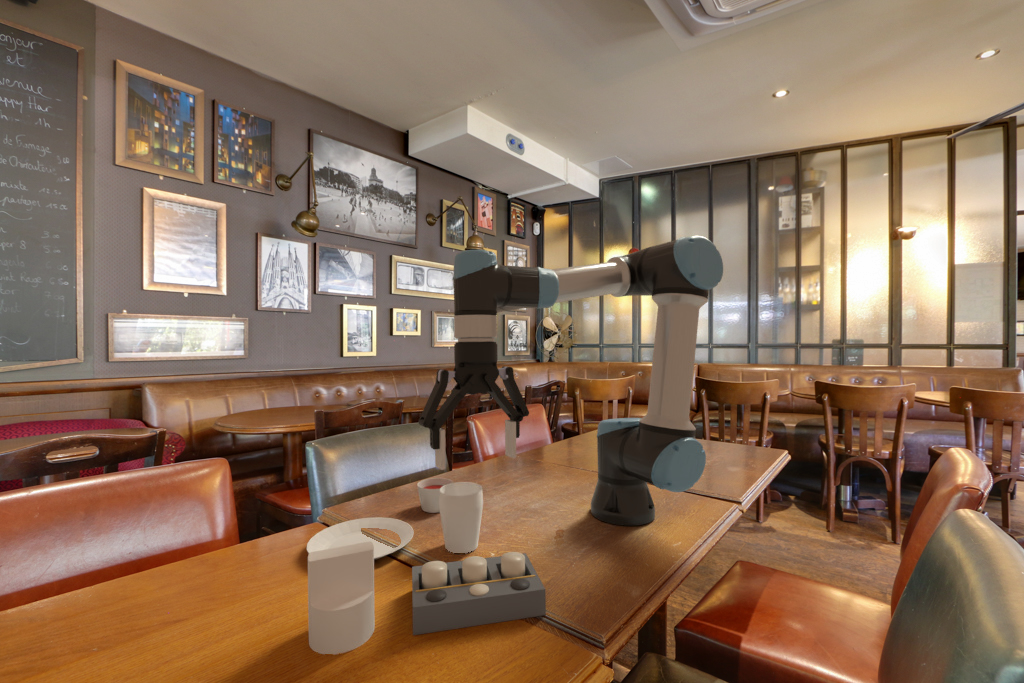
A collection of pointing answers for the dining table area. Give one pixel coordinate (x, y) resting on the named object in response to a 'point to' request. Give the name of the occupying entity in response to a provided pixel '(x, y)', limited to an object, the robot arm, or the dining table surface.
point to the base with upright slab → (341, 598)
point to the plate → (360, 535)
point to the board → (476, 598)
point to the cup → (461, 515)
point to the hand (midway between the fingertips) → (477, 462)
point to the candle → (431, 493)
